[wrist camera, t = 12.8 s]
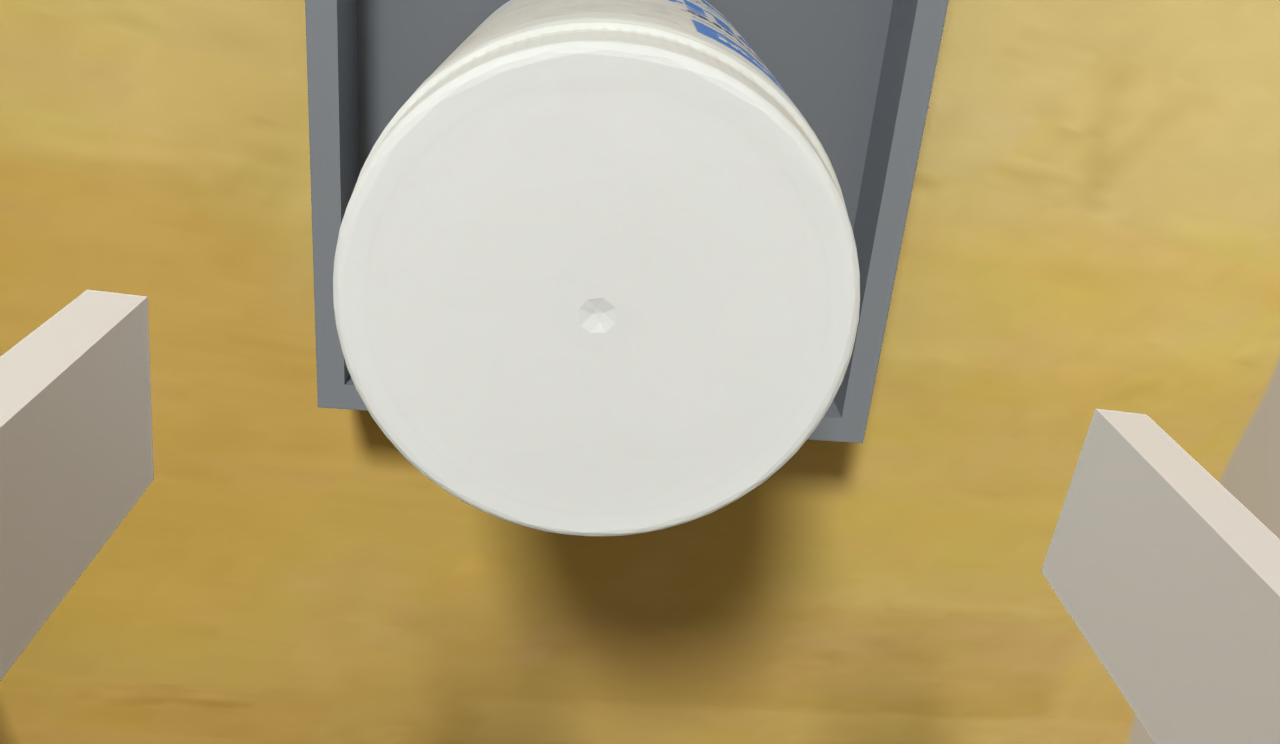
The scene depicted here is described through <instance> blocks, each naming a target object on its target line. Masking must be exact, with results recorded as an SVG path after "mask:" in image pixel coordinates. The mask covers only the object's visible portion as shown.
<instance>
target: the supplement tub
mask: <svg viewBox="0 0 1280 744" xmlns="http://www.w3.org/2000/svg"><path fill="white" fill-rule="evenodd" d="M333 304H334V312H335V321H336V328H337V332H338V336H339V340H340V344H341V349H342V352H343V355H344V359H345V362H346V365H347V369H348V371H349V373H350V376H351V378H352V380H353V383H354V385H355V388H356V390H357V392H358V393H359V395H360V397H361V399H362V400H363V402H364V404H365V406H366V408H367V409H368V411H369V413H370V415H371V417H372V418H373V419H374V421H375V422H376V423H377V425H378V426H379V427H380V429H381V430H382V432H383V433H384V434H385V435H386V437H387V438H388V439H389V440H390V441H391V443H392V444H393V445H394V446H395V447H396V448H397V450H398V451H399V452H400V453H401V454H402V455H403V456H404V457H405V458H406V459H407V460H408V461H409V462H410V463H411V464H412V465H414V466H415V467H416V468H417V469H418V470H419V471H420V472H421V473H422V474H424V475H425V476H426V477H428V478H429V479H430V480H432V481H433V482H434V483H436V484H437V485H438V486H440V487H441V488H443V489H444V490H446V491H447V492H449V493H450V494H452V495H454V496H455V497H457V498H458V499H460V500H462V501H463V502H465V503H467V504H469V505H471V506H473V507H475V508H477V509H480V510H482V511H484V512H486V513H489V514H491V515H493V516H496V517H498V518H500V519H503V520H505V521H509V522H512V523H515V524H518V525H522V526H526V527H530V528H534V529H537V530H541V531H545V532H552V533H559V534H565V535H579V536H624V535H632V534H640V533H647V532H652V531H657V530H662V529H666V528H669V527H673V526H677V525H680V524H684V523H687V522H689V521H692V520H695V519H698V518H701V517H703V516H706V515H708V514H711V513H713V512H715V511H717V510H719V509H721V508H723V507H725V506H726V505H728V504H730V503H732V502H734V501H736V500H737V499H739V498H741V497H742V496H744V495H745V494H747V493H748V492H750V491H751V490H753V489H754V488H756V487H757V486H759V485H760V484H762V483H763V482H765V481H766V480H767V479H768V478H769V477H771V476H772V475H773V474H774V473H775V472H776V471H778V470H779V469H780V468H781V467H782V466H783V465H784V464H785V463H786V462H787V461H788V460H789V459H790V458H792V456H793V455H794V454H795V453H796V452H797V451H798V450H799V449H800V447H801V446H802V445H803V444H804V443H805V441H806V440H807V439H808V438H809V437H810V435H811V434H812V433H813V432H814V430H815V429H816V428H817V426H818V425H819V423H820V422H821V420H822V419H823V417H824V416H825V414H826V412H827V411H828V409H829V407H830V405H831V403H832V401H833V400H834V398H835V396H836V394H837V392H838V389H839V387H840V385H841V383H842V381H843V378H844V376H845V373H846V370H847V367H848V364H849V361H850V358H851V355H852V351H853V347H854V343H855V338H856V332H857V327H858V322H859V309H860V271H859V263H858V255H857V248H856V243H855V239H854V235H853V230H852V226H851V223H850V220H849V217H848V213H847V209H846V205H845V202H844V198H843V194H842V191H841V188H840V185H839V182H838V179H837V176H836V174H835V171H834V169H833V167H832V164H831V162H830V160H829V157H828V156H827V154H826V152H825V150H824V148H823V146H822V144H821V143H820V141H819V139H818V138H817V136H816V134H815V133H814V131H813V130H812V128H811V127H810V125H809V124H808V122H807V121H806V119H805V118H804V116H803V115H802V113H801V112H800V111H799V109H798V108H797V107H796V105H795V104H794V103H793V101H792V100H791V99H790V97H789V96H788V94H787V93H786V92H785V90H784V89H783V88H782V87H781V85H780V84H779V83H778V81H777V80H776V79H775V78H774V76H773V75H772V74H771V72H770V71H769V70H768V69H767V67H766V66H765V65H764V64H763V62H762V61H761V60H760V58H759V57H758V56H757V55H756V53H755V52H754V51H753V50H752V48H751V47H750V46H749V45H748V43H747V42H746V41H745V39H744V38H743V37H742V36H741V35H740V34H739V32H738V31H737V30H736V29H735V28H734V27H733V25H732V24H731V23H730V22H729V21H728V20H727V19H726V18H725V17H724V16H723V15H722V14H721V13H720V12H719V11H718V10H716V9H715V8H714V7H713V6H711V5H710V4H709V3H707V2H706V1H705V0H509V1H507V2H506V3H504V4H503V5H502V6H501V7H499V8H498V9H497V10H496V11H495V12H493V13H492V14H491V15H490V16H489V17H488V18H487V19H486V20H485V21H484V22H483V23H482V24H481V25H480V26H479V27H478V28H477V29H476V30H475V31H474V32H473V33H472V34H471V35H470V36H469V37H468V38H467V39H466V40H465V41H464V42H463V43H462V44H461V45H460V46H459V47H458V48H457V49H456V50H455V51H454V52H453V53H452V54H451V55H450V56H449V57H448V58H447V59H446V60H445V61H444V62H443V63H442V64H441V65H440V66H439V67H438V68H437V69H436V70H435V71H434V72H433V73H432V74H431V75H430V76H429V77H428V78H427V79H426V80H425V81H424V82H423V83H422V84H421V85H420V86H419V87H418V89H417V90H416V91H415V92H414V93H413V95H412V96H411V97H410V98H409V99H408V100H407V101H406V102H405V104H404V105H403V106H402V107H401V108H400V109H399V110H398V112H397V113H396V114H395V116H394V117H393V118H392V120H391V121H390V122H389V124H388V125H387V126H386V127H385V129H384V130H383V132H382V133H381V135H380V137H379V138H378V140H377V141H376V143H375V144H374V146H373V148H372V150H371V152H370V154H369V156H368V158H367V159H366V161H365V163H364V165H363V167H362V169H361V172H360V174H359V177H358V180H357V182H356V185H355V188H354V191H353V193H352V195H351V198H350V200H349V202H348V205H347V208H346V211H345V214H344V217H343V220H342V223H341V226H340V230H339V236H338V241H337V246H336V252H335V258H334V271H333Z"/></svg>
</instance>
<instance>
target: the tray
mask: <svg viewBox="0 0 1280 744" xmlns="http://www.w3.org/2000/svg"><path fill="white" fill-rule="evenodd" d="M507 1H509V0H305V11H306V42H307V74H308V106H309V138H310V170H311V202H312V233H313V265H314V297H315V329H316V361H317V392H318V407H320V408H336V409H351V410H366V411H368V409H367V408H366V406H365V404H364V402H363V400H362V399H361V397H360V395H359V393H358V392H357V390H356V388H355V385H354V383H353V380H352V378H351V376H350V373H349V371H348V369H347V365H346V362H345V359H344V355H343V352H342V349H341V344H340V340H339V336H338V332H337V328H336V321H335V312H334V304H333V271H334V258H335V252H336V246H337V241H338V236H339V230H340V226H341V223H342V220H343V217H344V214H345V211H346V208H347V205H348V202H349V200H350V198H351V195H352V193H353V191H354V188H355V185H356V182H357V180H358V177H359V174H360V172H361V169H362V167H363V165H364V163H365V161H366V159H367V158H368V156H369V154H370V152H371V150H372V148H373V146H374V144H375V143H376V141H377V140H378V138H379V137H380V135H381V133H382V132H383V130H384V129H385V127H386V126H387V125H388V124H389V122H390V121H391V120H392V118H393V117H394V116H395V114H396V113H397V112H398V110H399V109H400V108H401V107H402V106H403V105H404V104H405V102H406V101H407V100H408V99H409V98H410V97H411V96H412V95H413V93H414V92H415V91H416V90H417V89H418V87H419V86H420V85H421V84H422V83H423V82H424V81H425V80H426V79H427V78H428V77H429V76H430V75H431V74H432V73H433V72H434V71H435V70H436V69H437V68H438V67H439V66H440V65H441V64H442V63H443V62H444V61H445V60H446V59H447V58H448V57H449V56H450V55H451V54H452V53H453V52H454V51H455V50H456V49H457V48H458V47H459V46H460V45H461V44H462V43H463V42H464V41H465V40H466V39H467V38H468V37H469V36H470V35H471V34H472V33H473V32H474V31H475V30H476V29H477V28H478V27H479V26H480V25H481V24H482V23H483V22H484V21H485V20H486V19H487V18H488V17H489V16H490V15H491V14H492V13H493V12H495V11H496V10H497V9H498V8H499V7H501V6H502V5H503V4H504V3H506V2H507ZM705 1H706V2H707V3H709V4H710V5H711V6H713V7H714V8H715V9H716V10H718V11H719V12H720V13H721V14H722V15H723V16H724V17H725V18H726V19H727V20H728V21H729V22H730V23H731V24H732V25H733V27H734V28H735V29H736V30H737V31H738V32H739V34H740V35H741V36H742V37H743V38H744V39H745V41H746V42H747V43H748V45H749V46H750V47H751V48H752V50H753V51H754V52H755V53H756V55H757V56H758V57H759V58H760V60H761V61H762V62H763V64H764V65H765V66H766V67H767V69H768V70H769V71H770V72H771V74H772V75H773V76H774V78H775V79H776V80H777V81H778V83H779V84H780V85H781V87H782V88H783V89H784V90H785V92H786V93H787V94H788V96H789V97H790V99H791V100H792V101H793V103H794V104H795V105H796V107H797V108H798V109H799V111H800V112H801V113H802V115H803V116H804V118H805V119H806V121H807V122H808V124H809V125H810V127H811V128H812V130H813V131H814V133H815V134H816V136H817V138H818V139H819V141H820V143H821V144H822V146H823V148H824V150H825V152H826V154H827V156H828V157H829V160H830V162H831V164H832V167H833V169H834V171H835V174H836V176H837V179H838V182H839V185H840V188H841V191H842V194H843V198H844V202H845V205H846V209H847V213H848V217H849V220H850V223H851V226H852V230H853V235H854V239H855V243H856V248H857V255H858V263H859V271H860V309H859V322H858V327H857V332H856V338H855V343H854V347H853V351H852V355H851V358H850V361H849V364H848V367H847V370H846V373H845V376H844V378H843V381H842V383H841V385H840V387H839V389H838V392H837V394H836V396H835V398H834V400H833V401H832V403H831V405H830V407H829V409H828V411H827V412H826V414H825V416H824V417H823V419H822V420H821V422H820V423H819V425H818V426H817V428H816V429H815V430H814V432H813V433H812V434H811V435H810V437H809V438H808V440H823V441H838V442H853V443H863V440H864V435H865V430H866V425H867V419H868V414H869V409H870V404H871V399H872V394H873V388H874V383H875V378H876V373H877V368H878V363H879V357H880V352H881V347H882V342H883V337H884V332H885V326H886V321H887V316H888V311H889V306H890V300H891V295H892V290H893V285H894V280H895V275H896V269H897V264H898V259H899V254H900V249H901V244H902V238H903V233H904V228H905V223H906V218H907V213H908V207H909V202H910V197H911V192H912V187H913V182H914V176H915V171H916V166H917V161H918V156H919V151H920V145H921V140H922V135H923V130H924V125H925V120H926V114H927V109H928V104H929V99H930V94H931V89H932V83H933V78H934V73H935V68H936V63H937V58H938V52H939V47H940V42H941V37H942V32H943V27H944V21H945V16H946V11H947V6H948V1H949V0H705Z"/></svg>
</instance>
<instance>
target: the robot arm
mask: <svg viewBox="0 0 1280 744" xmlns="http://www.w3.org/2000/svg"><path fill="white" fill-rule="evenodd" d="M153 480H154V471H153V442H152V412H151V382H150V353H149V323H148V297H146V296H138V295H129V294H121V293H112V292H104V291H95V290H86V291H85V292H84V293H82V294H81V295H80V296H79V297H77V298H76V299H75V300H73V301H72V302H71V303H69V304H68V305H67V306H66V307H64V308H63V309H62V310H60V311H59V312H58V313H56V314H55V315H54V316H53V317H51V318H50V319H49V320H47V321H46V322H45V323H43V324H42V325H41V326H40V327H38V328H37V329H36V330H34V331H33V332H32V333H30V334H29V335H28V336H27V337H25V338H24V339H23V340H21V341H20V342H19V343H18V344H16V345H15V346H14V347H12V348H11V349H10V350H8V351H7V352H6V353H5V354H3V355H2V356H1V357H0V681H1V679H2V678H3V677H4V676H5V674H6V673H7V672H8V670H9V669H10V668H11V666H12V665H13V664H14V662H15V661H16V660H17V658H18V657H19V656H20V654H21V653H22V652H23V651H24V649H25V648H26V647H27V645H28V644H29V643H30V641H31V640H32V639H33V637H34V636H35V635H36V633H37V632H38V631H39V630H40V628H41V627H42V626H43V624H44V623H45V622H46V620H47V619H48V618H49V616H50V615H51V614H52V612H53V611H54V610H55V608H56V607H57V606H58V605H59V603H60V602H61V601H62V599H63V598H64V597H65V595H66V594H67V593H68V591H69V590H70V589H71V587H72V586H73V585H74V584H75V582H76V581H77V580H78V578H79V577H80V576H81V574H82V573H83V572H84V570H85V569H86V568H87V566H88V565H89V564H90V562H91V561H92V560H93V559H94V557H95V556H96V555H97V553H98V552H99V551H100V549H101V548H102V547H103V545H104V544H105V543H106V541H107V540H108V539H109V538H110V536H111V535H112V534H113V532H114V531H115V530H116V528H117V527H118V526H119V524H120V523H121V522H122V520H123V519H124V518H125V516H126V515H127V514H128V513H129V511H130V510H131V509H132V507H133V506H134V505H135V503H136V502H137V501H138V499H139V498H140V497H141V495H142V494H143V493H144V492H145V490H146V489H147V488H148V486H149V485H150V484H151V482H152V481H153ZM1041 572H1042V574H1043V575H1044V577H1045V578H1046V580H1047V581H1048V583H1049V584H1050V586H1051V587H1052V589H1053V590H1054V592H1055V593H1056V595H1057V596H1058V598H1059V599H1060V601H1061V602H1062V604H1063V605H1064V607H1065V608H1066V610H1067V611H1068V613H1069V614H1070V616H1071V617H1072V619H1073V620H1074V622H1075V623H1076V625H1077V627H1078V628H1079V630H1080V631H1081V633H1082V634H1083V636H1084V637H1085V639H1086V640H1087V642H1088V643H1089V645H1090V646H1091V648H1092V649H1093V651H1094V652H1095V654H1096V655H1097V657H1098V658H1099V660H1100V661H1101V663H1102V664H1103V666H1104V667H1105V669H1106V670H1107V672H1108V673H1109V675H1110V676H1111V678H1112V679H1113V681H1114V683H1115V684H1116V686H1117V687H1118V689H1119V690H1120V692H1121V693H1122V695H1123V696H1124V698H1125V699H1126V701H1127V702H1128V704H1129V705H1130V707H1131V708H1132V710H1133V711H1134V713H1135V714H1136V716H1137V717H1138V719H1139V720H1140V722H1141V723H1142V725H1143V726H1144V728H1145V729H1146V731H1147V732H1148V734H1149V735H1150V737H1151V739H1152V740H1153V741H1154V743H1155V744H1280V540H1279V538H1278V537H1276V536H1275V535H1274V534H1273V533H1272V532H1271V531H1270V530H1269V529H1268V528H1267V527H1266V526H1265V525H1263V524H1262V522H1260V521H1259V520H1258V519H1257V518H1256V517H1255V516H1254V515H1253V514H1252V513H1251V512H1250V511H1249V510H1248V509H1247V508H1246V507H1244V506H1243V505H1242V504H1241V503H1240V502H1239V501H1238V500H1237V499H1236V498H1235V497H1234V496H1232V494H1231V493H1230V492H1228V491H1227V490H1226V489H1225V488H1224V487H1223V486H1222V485H1221V484H1220V483H1219V482H1218V481H1217V480H1216V479H1215V478H1214V477H1213V476H1211V475H1210V474H1209V473H1208V472H1207V471H1206V470H1205V469H1204V468H1203V467H1202V466H1201V465H1200V464H1199V463H1198V462H1197V461H1196V460H1194V459H1193V458H1192V457H1191V456H1190V455H1189V454H1188V453H1187V452H1186V451H1185V450H1184V449H1183V448H1182V447H1181V446H1180V445H1178V444H1177V443H1176V442H1175V441H1174V440H1173V439H1172V438H1171V437H1170V436H1169V435H1168V434H1167V433H1166V432H1165V431H1164V430H1162V429H1161V428H1160V427H1159V426H1158V425H1157V424H1156V423H1155V422H1154V421H1153V420H1152V419H1151V418H1150V417H1149V416H1148V415H1146V414H1137V413H1129V412H1120V411H1112V410H1104V409H1095V412H1094V415H1093V418H1092V421H1091V424H1090V427H1089V430H1088V433H1087V436H1086V439H1085V442H1084V445H1083V448H1082V451H1081V454H1080V457H1079V460H1078V463H1077V466H1076V469H1075V472H1074V475H1073V478H1072V481H1071V484H1070V486H1069V489H1068V492H1067V495H1066V498H1065V501H1064V504H1063V507H1062V510H1061V513H1060V516H1059V519H1058V522H1057V525H1056V528H1055V531H1054V534H1053V537H1052V540H1051V543H1050V546H1049V549H1048V552H1047V555H1046V558H1045V561H1044V564H1043V567H1042V570H1041Z"/></svg>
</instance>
